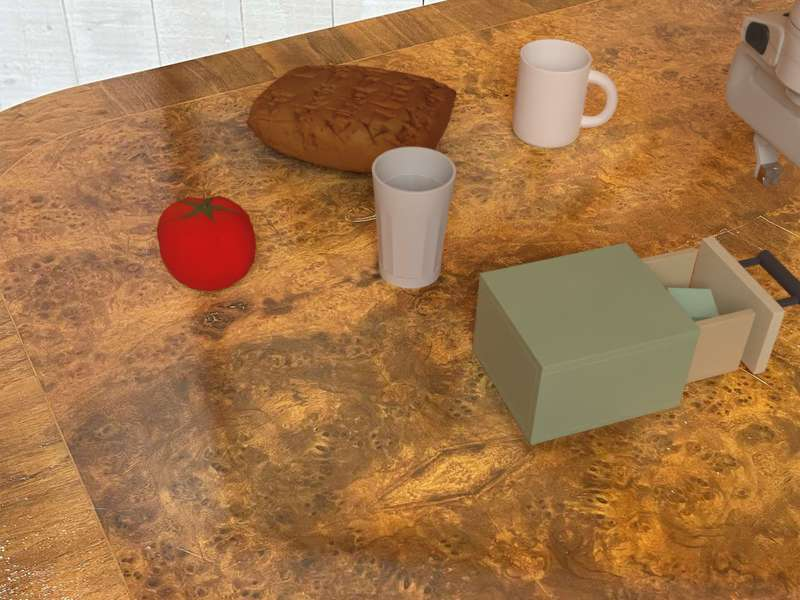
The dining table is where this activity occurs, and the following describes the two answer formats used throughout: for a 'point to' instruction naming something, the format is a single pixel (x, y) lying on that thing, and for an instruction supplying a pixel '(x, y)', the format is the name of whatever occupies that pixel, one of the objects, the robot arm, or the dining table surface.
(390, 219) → the cup
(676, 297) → the block
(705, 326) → the drawer
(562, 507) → the dining table surface
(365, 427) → the dining table surface
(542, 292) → the cabinet
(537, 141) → the mug
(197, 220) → the tomato
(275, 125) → the brown bread loaf
